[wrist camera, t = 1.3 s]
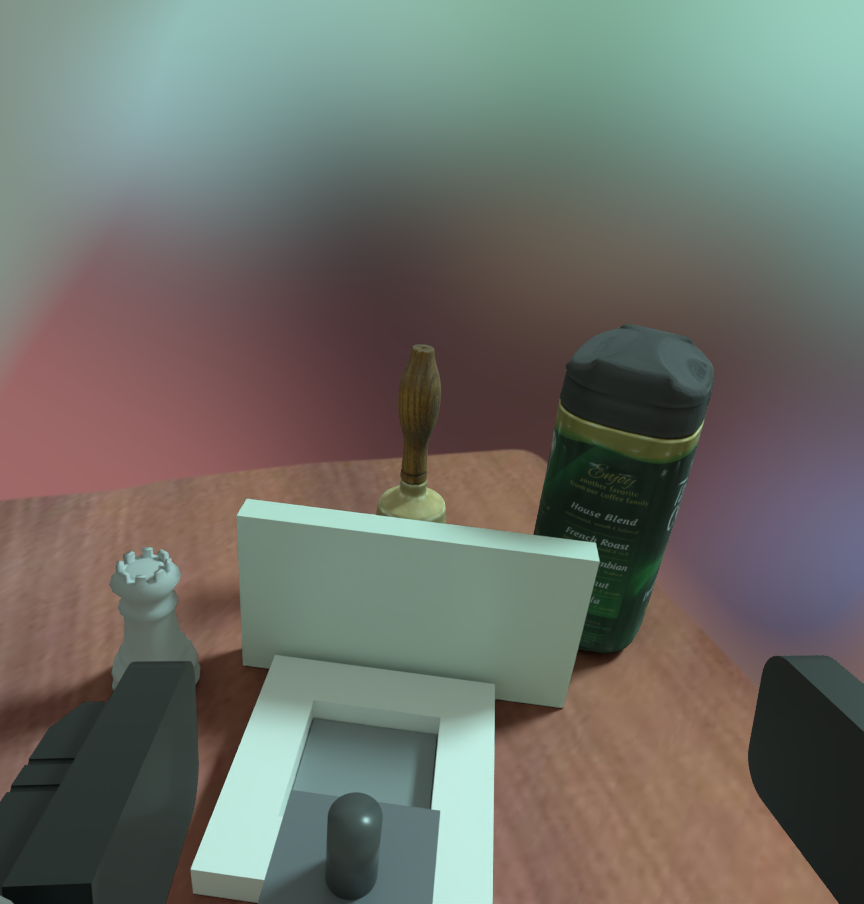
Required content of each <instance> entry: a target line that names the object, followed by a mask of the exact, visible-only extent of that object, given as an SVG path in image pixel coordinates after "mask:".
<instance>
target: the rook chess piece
mask: <svg viewBox="0 0 864 904" xmlns="http://www.w3.org/2000/svg"><path fill="white" fill-rule="evenodd" d="M142 552H143V555H142V556H138V557H135V553H134V552H133V551H130V552H128V553H126V554H124V555H123V558H124V561H117V564H116V572H115V573H114V574H113V575H112V577H111V581H110V584H109V585H110V587H111V589H112V591H113V592H114V593H115V594H117V595H118V596H120V597H121V598H122V599H121V600H120V602H119V606H118V609H119V611H120V614H121V615H123V616H124V622H125V626H124V642H123V643H122V644H121V646H120V649H119V652H118V653H117V654H116V656H115V659H114V663H113V668H112V672H111V674H112V677H113V682H112V688H113V691H114V690H115V688H116V686H117V685H118V683H119V681H120V679H121V678H122V676H123V674H124V672H125V671H126V669H127V667H128V666H129V664H130V663H131V662H135V661H191V662H192V664H193V667H194V672H195V685H196V683H197V682H198V680H199V678H200V665H199V663H198V653H197V651H196V649H195V648H194V646H193V644H192V642H191V640H189V639H187V637H186V635H185V633H183V632H182V631H180V628H179V624H178V621H177V617H176V614H175V606H176V605H177V602H178V596H177V594H176V592H175V591H174V590H173V588H174V587H175V586H176V584H177V583H178V582H179V581H180V575H181V572H180V570H179V569H178V567H177V565H175V564H174V563H172V560H171V558H169V555H168V552H166V551H164V550H162V549H161V550H160V551H158V556H157V555H153V547H148V548H142Z"/></svg>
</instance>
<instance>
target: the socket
mask: <svg viewBox="0 0 864 904" xmlns="http://www.w3.org/2000/svg"><path fill="white" fill-rule="evenodd" d="M237 534H238V559H239V583H240V608H241V633H242V657H243V665H245V666H252V667H260V668H267V669H269V672H268V674H267V677H266V679H265V682H264V684H263V687H262V690H261V692H260V695H259V697H258V700H257V702H256V705H255V707H254V710H253V712H252V715H251V717H250V720H249V723H248V725H247V728H246V730H245V733H244V735H243V738H242V740H241V743H240V745H239V748H238V750H237V753H236V755H235V758H234V761H233V763H232V766H231V768H230V771H229V773H228V776H227V778H226V781H225V783H224V786H223V788H222V791H221V793H220V796H219V799H218V801H217V804H216V806H215V809H214V811H213V814H212V816H211V819H210V821H209V824H208V826H207V829H206V832H205V834H204V837H203V839H202V842H201V844H200V847H199V849H198V852H197V854H196V857H195V859H194V862H193V864H192V867H191V879H192V888H193V894H200V895H207V896H214V897H221V898H228V899H234V900H241V901H248V902H255V903H258V899H259V896H260V893H261V889H262V886H263V883H264V879H265V876H266V873H267V869H268V866H269V862H270V859H271V856H272V852H273V849H274V846H275V842H276V839H277V836H278V832H279V829H280V825H281V822H282V819H283V815H284V812H285V809H286V805H287V802H288V799H289V795H290V792H291V790H296V791H304V792H311V793H318V794H325V795H332V796H339V797H341V796H342V795H345V794H347V793H352V792H360V793H364V794H367V795H369V796H371V797H373V798H374V799H375V800H376V801H377V802H382V803H389V804H397V805H404V806H411V807H418V808H425V809H430V800H431V809H432V810H440V821H439V833H438V845H437V857H436V869H435V880H434V892H433V904H492V896H493V812H494V729H495V699H499V700H506V701H514V702H521V703H528V704H536V705H543V706H551V707H558V708H564V704H565V700H566V695H567V691H568V687H569V683H570V679H571V675H572V671H573V667H574V663H575V659H576V655H577V651H578V647H579V643H580V639H581V635H582V631H583V627H584V623H585V619H586V615H587V611H588V607H589V603H590V598H591V594H592V590H593V586H594V582H595V578H596V574H597V570H598V566H599V562H600V561H599V556H598V551H597V546H596V543H594V542H586V541H578V540H570V539H562V538H554V537H546V536H538V535H530V534H522V533H514V532H506V531H498V530H490V529H482V528H475V527H467V526H459V525H451V524H443V523H435V522H427V521H419V520H411V519H403V518H395V517H387V516H379V515H371V514H363V513H355V512H347V511H340V510H332V509H324V508H316V507H308V506H300V505H292V504H284V503H276V502H268V501H260V500H252V499H246V501H245V503H244V504H243V506H242V508H241V509H240V511H239V513H238V514H237ZM436 740H437V748H436ZM435 750H436V758H435ZM434 760H435V768H434ZM433 770H434V778H433ZM432 780H433V789H432ZM431 790H432V799H431Z"/></svg>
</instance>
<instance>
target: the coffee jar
mask: <svg viewBox="0 0 864 904" xmlns="http://www.w3.org/2000/svg"><path fill="white" fill-rule="evenodd" d="M566 369H567V371H566V375H565V379H564V383H563V387H562V391H561V394H560V401H559V406H558V412H557V418H556V424H555V429H554V435H553V440H552V445H551V451H550V456H549V461H548V466H547V471H546V475H545V480H544V485H543V490H542V495H541V500H540V505H539V510H538V515H537V520H536V525H535V530H534V534H533V535H538V536H546V537H554V538H562V539H570V540H578V541H586V542H594V543H596V546H597V551H598V556H599V561H600V562H599V566H598V570H597V574H596V578H595V582H594V586H593V590H592V594H591V598H590V603H589V607H588V611H587V615H586V619H585V623H584V627H583V631H582V635H581V639H580V643H579V647H578V649H579V650H584V651H593V652H600V653H607V652H617V651H620V650H622V649H624V648H626V647H627V646H628V645H629V644H630V643H631V642H632V640H633V639H634V637H635V636H636V634H637V632H638V630H639V628H640V626H641V623H642V620H643V617H644V614H645V611H646V608H647V605H648V602H649V599H650V596H651V593H652V590H653V587H654V583H655V581H656V577H657V574H658V570H659V567H660V564H661V561H662V557H663V554H664V551H665V548H666V545H667V542H668V539H669V536H670V533H671V530H672V527H673V524H674V521H675V518H676V515H677V511H678V509H679V506H680V502H681V499H682V496H683V492H684V489H685V486H686V483H687V479H688V476H689V472H690V469H691V465H692V462H693V458H694V455H695V452H696V448H697V444H698V440H699V436H700V432H701V429H702V426H703V423H704V419H705V414H706V410H707V406H708V403H709V400H710V395H711V389H712V385H713V377H714V370H713V366H712V364H711V362H710V361H709V360H708V358H707V357H706V356H705V355H704V354H703V353H702V352H701V351H700V350H699V349H698V348H697V347H696V346H695V345H694V344H693V342H692V340H691V339H690V338H688V337H685V336H681V335H677V334H672V333H668V332H664V331H659V330H655V329H650V328H646V327H641V326H637V325H631V324H625V325H623V326H622V327H620V328H617V329H614V330H611V331H607V332H604V333H602V334H599V335H597V336H595V337H593V338H591V339H590V340H588V341H587V342H586V343H585V344H583V345H582V346H581V347H580V348H579V349H578V350H577V351H576V353H575V354H574V355H573V357H572V358H571V360H570V362H569V363H568V364H567V365H566Z"/></svg>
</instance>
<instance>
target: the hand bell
mask: <svg viewBox="0 0 864 904" xmlns="http://www.w3.org/2000/svg"><path fill="white" fill-rule="evenodd" d="M440 399H441V385H440V378H439V373H438V369H437V365H436V361H435V355H434V349H433V347H431V346H428V345H415V346H413V348H412V352H411V355H410V358H409V361H408V363H407V366H406V367H405V370H404V372H403V375H402V379H401V382H400V388H399V398H398V400H399V401H398V407H399V408H398V409H399V418H400V424H401V428H402V432H403V437H404V452H403V460H402V469H401V475H400V476H401V484H400V486H396V487H393V488H391V489H389V490H387V491H386V492H384V493H383V494H382V496H381V497H380V499H379V502H378V508H377V513H376V515H379V516H387V517H395V518H403V519H411V520H419V521H427V522H435V523H443V524H446V508H445V502H444V500H443V499H442V497H441V496H440V495H439V494H438V493H437V492H435V491H433V490H431V489H429V488H427V487H426V486H427V480H426V479H427V471H426V470H427V453H428V444H429V439H430V436H431V434H432V431H433V429H434V427H435V424H436V421H437V417H438V413H439V407H440Z"/></svg>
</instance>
